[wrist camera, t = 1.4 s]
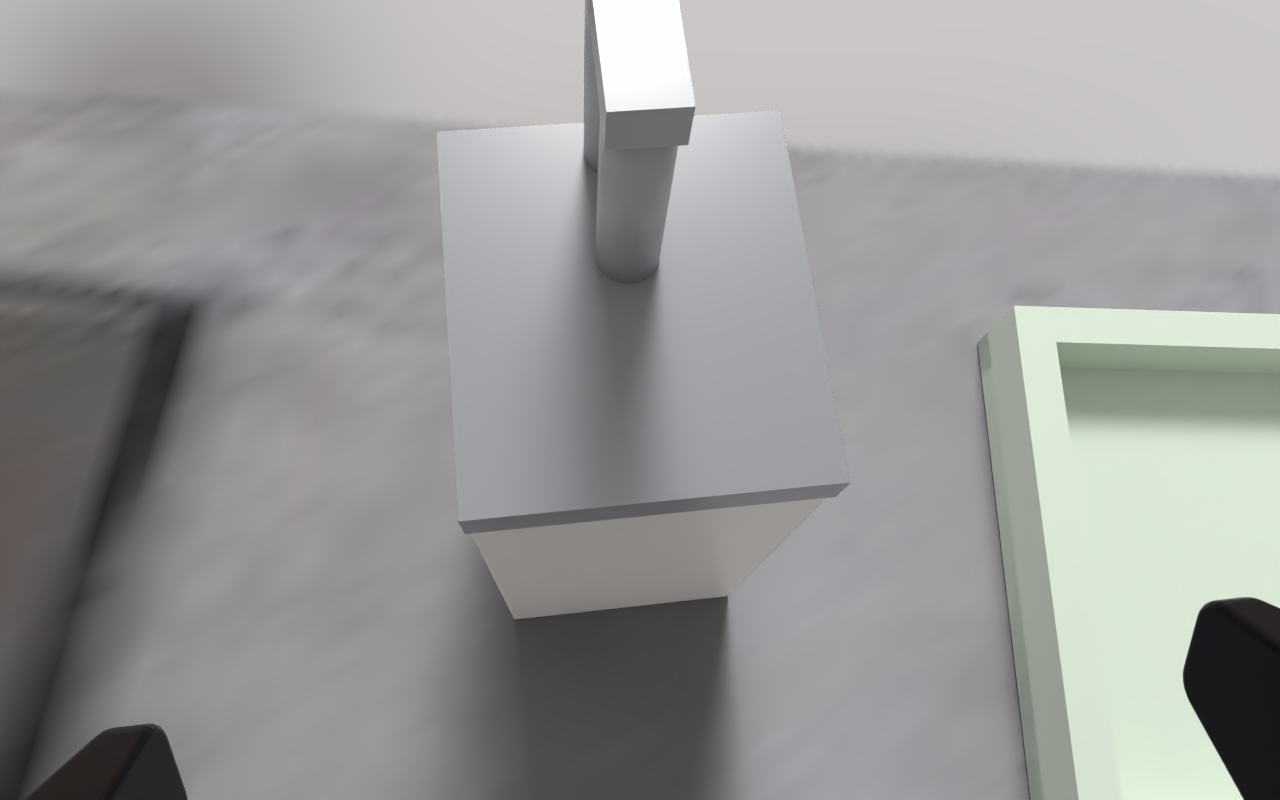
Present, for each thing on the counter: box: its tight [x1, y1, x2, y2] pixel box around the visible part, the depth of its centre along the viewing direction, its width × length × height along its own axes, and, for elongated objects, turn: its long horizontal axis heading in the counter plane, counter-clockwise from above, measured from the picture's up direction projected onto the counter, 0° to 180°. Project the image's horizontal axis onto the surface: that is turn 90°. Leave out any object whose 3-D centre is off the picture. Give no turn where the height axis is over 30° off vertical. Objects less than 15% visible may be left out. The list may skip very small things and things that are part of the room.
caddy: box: [436, 0, 851, 619], centre depth 15 cm, size 5×4×13 cm
